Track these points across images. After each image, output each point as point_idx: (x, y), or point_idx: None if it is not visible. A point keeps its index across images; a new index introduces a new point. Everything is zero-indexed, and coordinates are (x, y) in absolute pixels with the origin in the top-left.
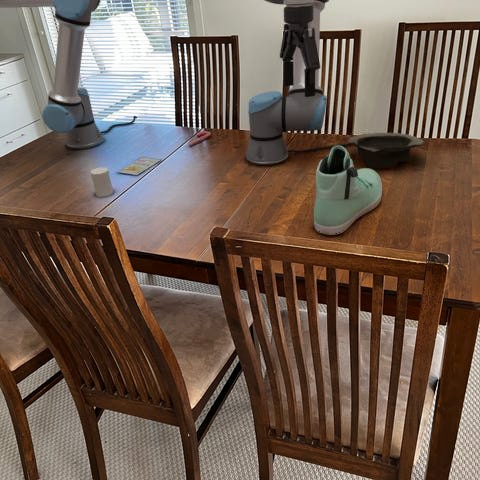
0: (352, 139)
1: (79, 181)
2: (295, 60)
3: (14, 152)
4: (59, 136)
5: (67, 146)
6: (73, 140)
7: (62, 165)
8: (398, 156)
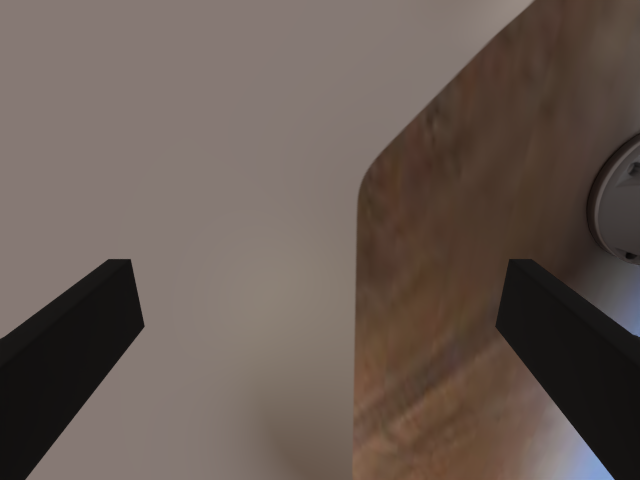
0: None
1: (520, 463)
2: None
3: (396, 140)
4: (614, 16)
5: (589, 210)
6: (629, 251)
7: (516, 355)
8: None
